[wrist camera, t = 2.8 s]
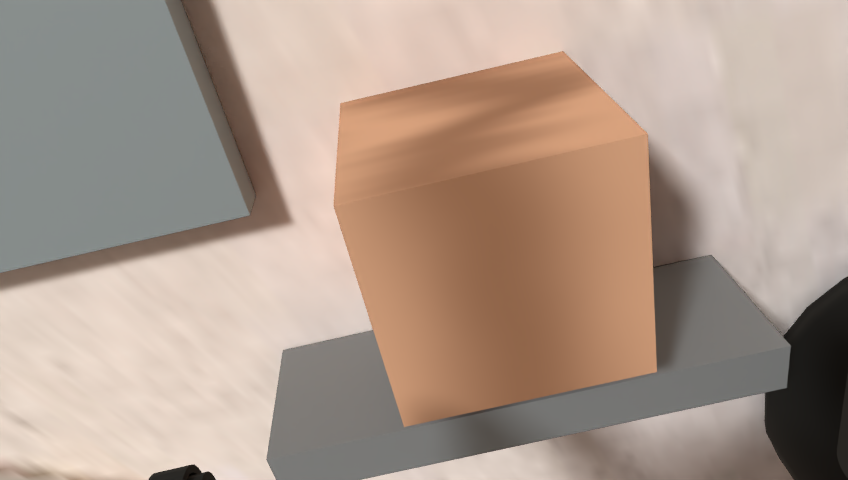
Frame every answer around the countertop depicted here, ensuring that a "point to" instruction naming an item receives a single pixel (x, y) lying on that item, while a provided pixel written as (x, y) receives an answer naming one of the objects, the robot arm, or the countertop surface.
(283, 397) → the grey long block
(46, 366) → the countertop surface
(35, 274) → the countertop surface
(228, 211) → the board
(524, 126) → the lettered block
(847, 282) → the coffee jar
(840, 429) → the robot arm
